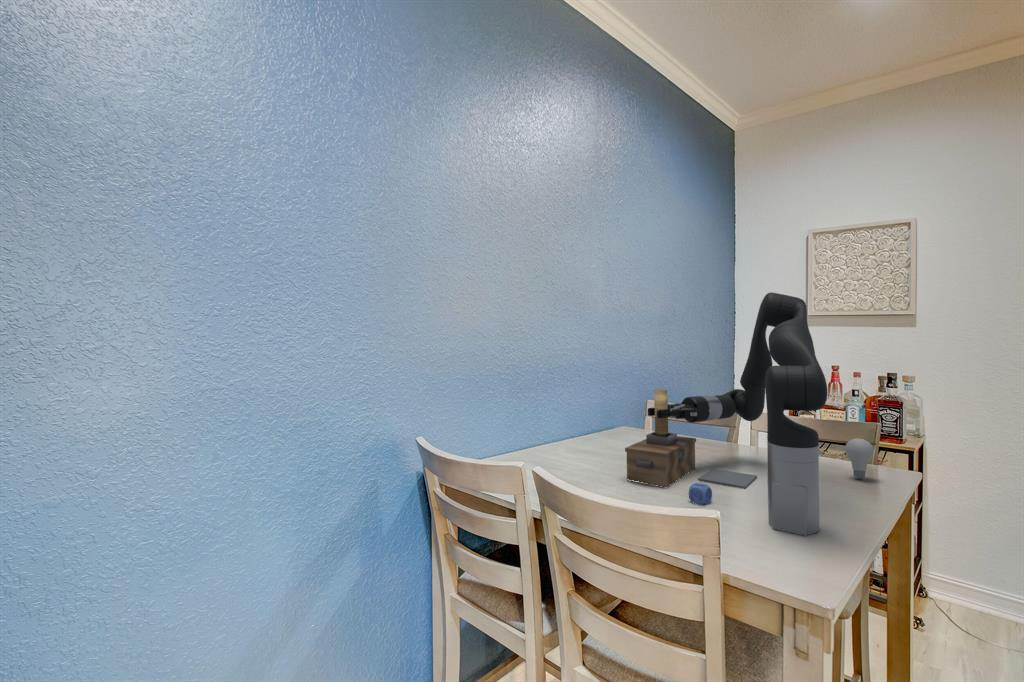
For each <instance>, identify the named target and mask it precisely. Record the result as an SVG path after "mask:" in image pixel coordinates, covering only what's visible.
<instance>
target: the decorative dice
mask: <svg viewBox="0 0 1024 682" xmlns="http://www.w3.org/2000/svg"><path fill="white" fill-rule="evenodd" d="M688 489H689V490H688V498H689V500H690V501H691V502H692V503H693V502H694V503H693V504H695V503H696V504H695V505H699V504H701V505H700V506H705V505H706V504H707V505H709V504H710V503H711V502H712V499H713V491H712V490H713V489H712V488H711V487H710V485H708V484H707V483H704V482H703V483H701V482H695V483H692V484H691V485H690V486H689V488H688Z"/></svg>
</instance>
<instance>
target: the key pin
mask: <svg viewBox="0 0 1024 682" xmlns="http://www.w3.org/2000/svg"><path fill="white" fill-rule="evenodd" d="M653 393H654V395H653V396H654V397H653V398H654V399H653V402H654V405H653V406H654V408H655V416H654V432H655V435H656V436H664V437H667V436H668V433H669V417H668V418H657V410H665V409H668V404H669V401H668V397H669V395H668V389H666V388H665V389H664V388H656V389H653Z"/></svg>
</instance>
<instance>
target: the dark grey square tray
mask: <svg viewBox="0 0 1024 682" xmlns="http://www.w3.org/2000/svg"><path fill="white" fill-rule="evenodd" d="M677 436H678V433H676V432H675V433H673V432H668V436H667V437H664V436H656V435H655V431H652V432H650V433H647V434H646V435H645V437H646V438H645V439H646V444H653V445H660V446H667V447H669V446H671V445H673V444H675V443H677Z"/></svg>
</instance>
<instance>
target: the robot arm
mask: <svg viewBox="0 0 1024 682" xmlns="http://www.w3.org/2000/svg"><path fill="white" fill-rule="evenodd" d="M768 326H769V327H773V329H772V330H771V331H770V333H769V336H768V341H767V328H768ZM751 337H752V338H751V342H750V347H749V352H748V356H747V360H746V363H745V366H744V368H743V371H742V374H741V377H740V380H739V382H740V385H741V387H742V388H743V389H740V388H737V389H736V388H735V389H733V390H730V391H728V392H726V393H724V394H721V395H696V396H686V397H684V398H683V400H682V402H675V403H671V404H670V403H668V409H665V410H657V418H668V419H669V418H670V419H676V420H685V421H686V422H688V423H690V424H691V423H692V424H693V423H694V424H695V423H703V422H704V423H705V422H711V421H715V420H724V419H730V418H731V417H733V416H734V415H735V413H736V414H737V415H738V416H739V417H741V419H743V420H745V421H747V422H753V421H754V422H755V421H756V420H757V419H759V418H760V417H761V415H762V414H763V412H764V410H765V403H766V413H767V414H766V415H767V417H766V418H767V419H766V420H767V423H766V424H767V427H766V428H767V432H766V433H767V435H766V437H767V441H766V442H767V445H766V447H767V507H768V508H767V509H768V510H767V511H768V512H767V514H768V516H767V517H768V518H767V519H768V524H769V525H771V528H772V529H774V530H778V531H783V532H788V533H791V534H796V535H800V536H806V537H807V536H808V535H812V534H816V533H818V532H820V530H821V529H820V528H821V527H820V522H821V520H820V518H821V517H820V512H821V511H820V461H819V460H820V456H819V455H820V447H819V445H820V444H819V443H820V442H819V441H820V437H819V433H818V432H817V431H816V430H815V429H814V428H811V427H809V426H806V425H802V424H800V423H798V422H796V421H794V420H792V419H790V418H789V417H787V415H785V413H784V411H796V412H797V411H798V412H800V411H801V412H813V411H815V412H816V411H819V410H821V409H823V408H824V407H825V405H826V404H827V400H828V392H829V391H828V385H827V379H826V377H825V375H824V372H823V369H822V367H821V365H820V362H819V361H818V359H817V356H816V351H815V346H814V341H813V337H812V334H811V332H810V329H809V325H808V310H807V304H806V302H805V300H803V299H802V298H799V297H797V296H791V295H787V294H783V293H778V292H768V293H766V294H765V296H764V297H763V298H762V301H761V302H760V306H759V308H758V313H757V317H756V320H755V324H754V328H753V333H752V336H751ZM767 342H768V343H767ZM773 361H774V362H775V363H776V364H777V365H773ZM765 400H766V402H765ZM647 416H649V417H653V416H654V417H655V407H649V408H647Z"/></svg>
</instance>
